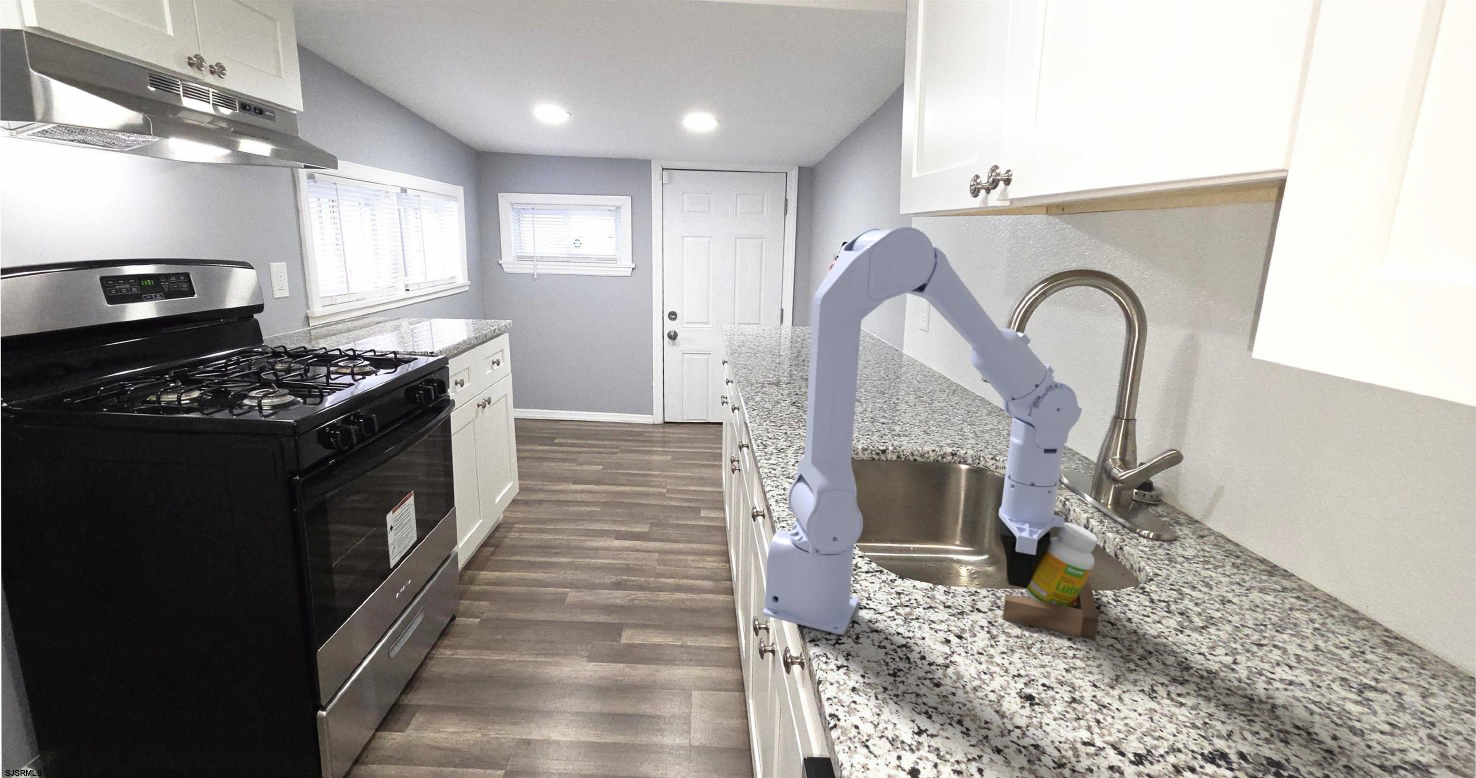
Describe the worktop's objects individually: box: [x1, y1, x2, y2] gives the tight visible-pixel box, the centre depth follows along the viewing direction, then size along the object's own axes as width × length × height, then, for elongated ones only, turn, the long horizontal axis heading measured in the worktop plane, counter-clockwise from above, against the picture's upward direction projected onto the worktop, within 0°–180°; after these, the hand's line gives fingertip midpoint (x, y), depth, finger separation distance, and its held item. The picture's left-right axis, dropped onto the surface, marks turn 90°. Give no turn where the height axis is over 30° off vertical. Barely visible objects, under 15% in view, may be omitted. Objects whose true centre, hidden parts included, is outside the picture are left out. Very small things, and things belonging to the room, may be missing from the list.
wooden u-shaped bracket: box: [1002, 564, 1099, 641], centre depth 78 cm, size 10×11×2 cm
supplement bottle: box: [1024, 522, 1099, 608], centre depth 77 cm, size 5×5×10 cm
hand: (1017, 583), depth 79 cm, fingers closed, pressing on supplement bottle
